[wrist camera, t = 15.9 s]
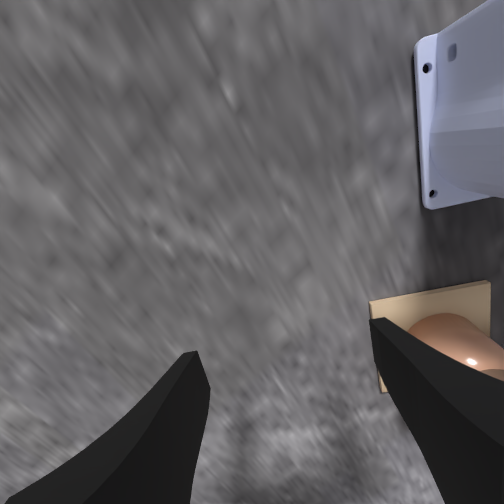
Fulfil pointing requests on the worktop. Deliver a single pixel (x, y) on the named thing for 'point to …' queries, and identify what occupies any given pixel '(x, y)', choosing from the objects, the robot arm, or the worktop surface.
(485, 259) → the worktop surface
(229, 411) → the worktop surface
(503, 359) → the mug
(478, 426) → the robot arm
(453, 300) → the mat
